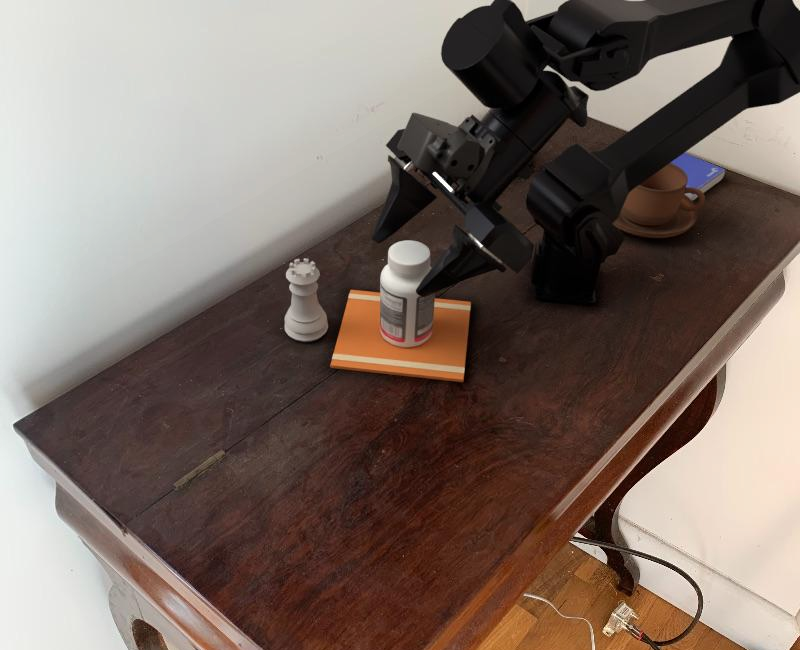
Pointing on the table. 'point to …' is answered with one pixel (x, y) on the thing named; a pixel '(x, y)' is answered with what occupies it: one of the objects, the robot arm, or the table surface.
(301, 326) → the rook chess piece
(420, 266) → the pill bottle
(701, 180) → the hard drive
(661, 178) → the cup and saucer
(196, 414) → the table surface
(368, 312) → the towel
